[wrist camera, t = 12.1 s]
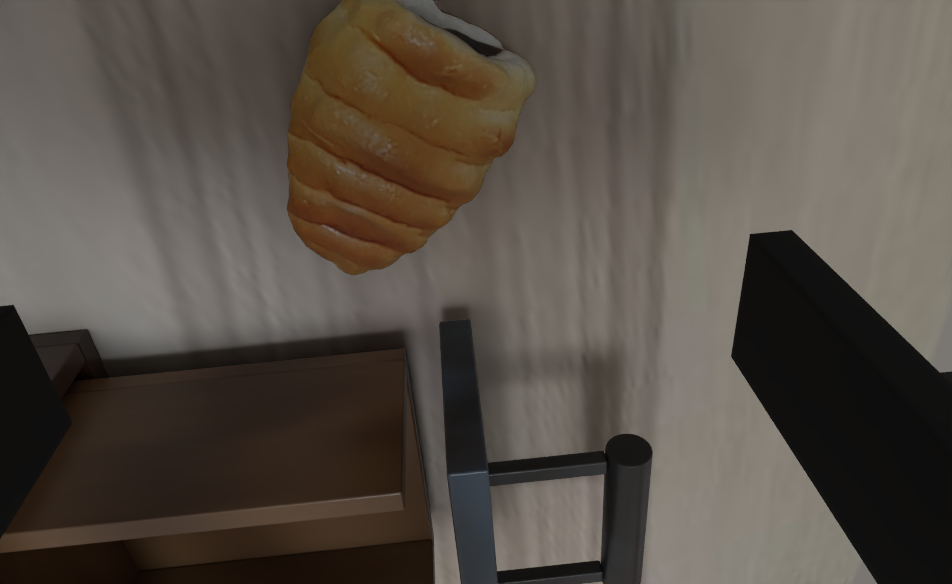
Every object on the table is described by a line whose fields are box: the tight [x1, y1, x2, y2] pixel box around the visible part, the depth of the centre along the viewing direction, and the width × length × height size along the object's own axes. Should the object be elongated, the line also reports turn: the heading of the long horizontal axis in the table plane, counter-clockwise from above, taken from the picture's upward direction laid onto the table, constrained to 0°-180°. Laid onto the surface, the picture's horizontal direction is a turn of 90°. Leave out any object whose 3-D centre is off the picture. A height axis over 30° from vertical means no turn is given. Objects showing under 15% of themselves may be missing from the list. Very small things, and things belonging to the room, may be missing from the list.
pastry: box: [287, 0, 535, 275], centre depth 22 cm, size 9×7×4 cm
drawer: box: [0, 319, 653, 584], centre depth 26 cm, size 22×13×8 cm, turn 94°
